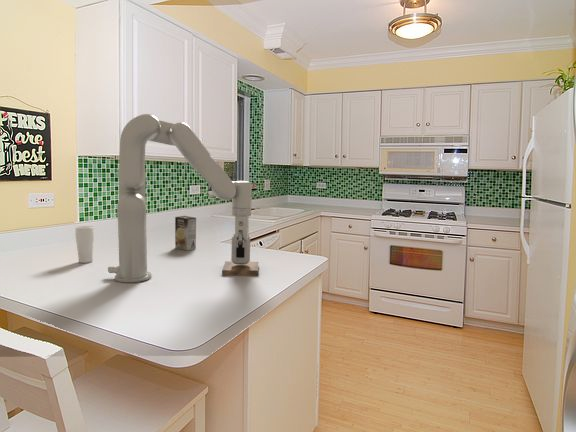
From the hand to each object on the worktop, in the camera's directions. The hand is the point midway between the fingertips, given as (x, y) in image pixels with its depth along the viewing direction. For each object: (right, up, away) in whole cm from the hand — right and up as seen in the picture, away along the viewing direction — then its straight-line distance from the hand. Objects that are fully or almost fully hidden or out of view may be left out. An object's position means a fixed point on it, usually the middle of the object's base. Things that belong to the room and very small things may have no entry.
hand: (240, 254), depth 156 cm
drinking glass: (-67, -4, +7) cm, 67 cm away
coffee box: (-33, -1, +39) cm, 51 cm away
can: (0, -3, 0) cm, 4 cm away
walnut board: (0, -7, +1) cm, 7 cm away
